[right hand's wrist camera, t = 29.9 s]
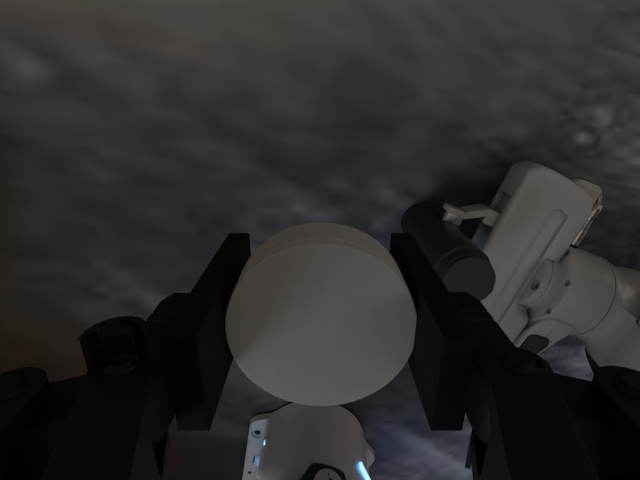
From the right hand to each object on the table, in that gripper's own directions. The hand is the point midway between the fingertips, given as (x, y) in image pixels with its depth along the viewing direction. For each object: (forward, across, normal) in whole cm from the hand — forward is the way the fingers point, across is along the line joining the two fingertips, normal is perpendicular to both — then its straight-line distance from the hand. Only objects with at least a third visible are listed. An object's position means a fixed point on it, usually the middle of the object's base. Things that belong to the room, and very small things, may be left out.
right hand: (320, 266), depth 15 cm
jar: (+27, +12, -7) cm, 30 cm away
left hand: (+21, +11, -7) cm, 24 cm away
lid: (-4, 0, 0) cm, 4 cm away
